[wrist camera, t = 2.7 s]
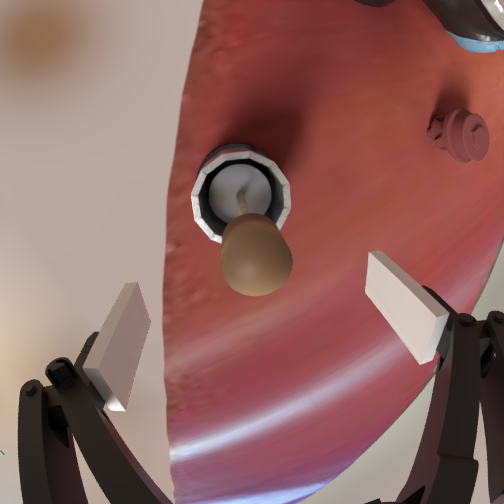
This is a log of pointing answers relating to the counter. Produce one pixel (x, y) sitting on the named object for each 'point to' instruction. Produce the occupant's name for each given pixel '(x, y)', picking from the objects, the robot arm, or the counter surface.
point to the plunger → (249, 232)
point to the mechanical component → (460, 135)
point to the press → (234, 156)
